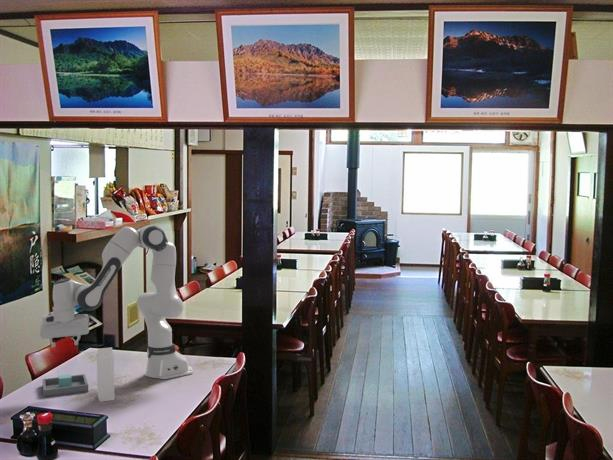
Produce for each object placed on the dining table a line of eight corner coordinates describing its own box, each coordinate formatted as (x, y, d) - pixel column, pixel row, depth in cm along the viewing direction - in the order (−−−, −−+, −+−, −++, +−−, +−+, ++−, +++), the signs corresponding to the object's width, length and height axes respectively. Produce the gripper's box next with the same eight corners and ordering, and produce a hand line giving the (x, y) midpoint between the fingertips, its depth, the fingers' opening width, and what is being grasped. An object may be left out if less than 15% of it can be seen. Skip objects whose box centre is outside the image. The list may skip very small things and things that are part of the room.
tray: (84, 380, 284) (84, 374, 284) (88, 391, 270) (88, 384, 270) (42, 385, 277) (42, 379, 277) (43, 397, 262) (43, 390, 262)
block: (70, 384, 277) (70, 374, 276) (71, 388, 272) (71, 377, 272) (59, 386, 275) (58, 375, 274) (59, 389, 270) (59, 378, 270)
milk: (97, 397, 263) (96, 347, 261) (112, 395, 266) (111, 345, 264) (99, 402, 258) (98, 350, 256) (114, 399, 260) (113, 348, 258)
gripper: (88, 311, 278) (89, 341, 279) (39, 316, 269) (40, 346, 271) (89, 314, 272) (90, 345, 273) (39, 319, 264) (40, 350, 265)
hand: (65, 346), depth 272 cm, fingers open, 8 cm apart
